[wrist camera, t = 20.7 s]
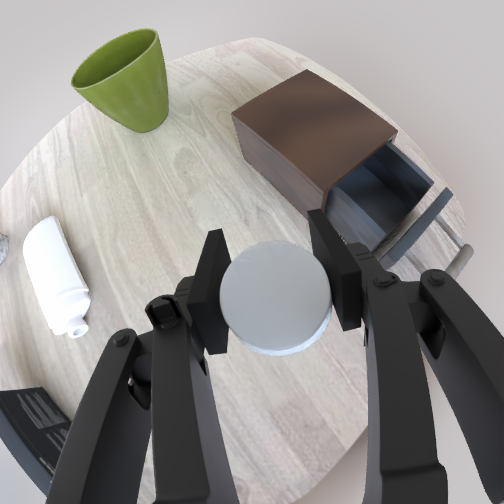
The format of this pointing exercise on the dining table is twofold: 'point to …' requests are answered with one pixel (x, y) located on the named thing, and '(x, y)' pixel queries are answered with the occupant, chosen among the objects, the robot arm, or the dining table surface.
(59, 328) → the squeeze bottle
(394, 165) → the drawer
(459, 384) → the robot arm
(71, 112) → the dining table surface
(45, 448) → the box
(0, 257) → the mug
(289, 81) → the cabinet
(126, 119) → the flower pot
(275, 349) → the pill bottle
